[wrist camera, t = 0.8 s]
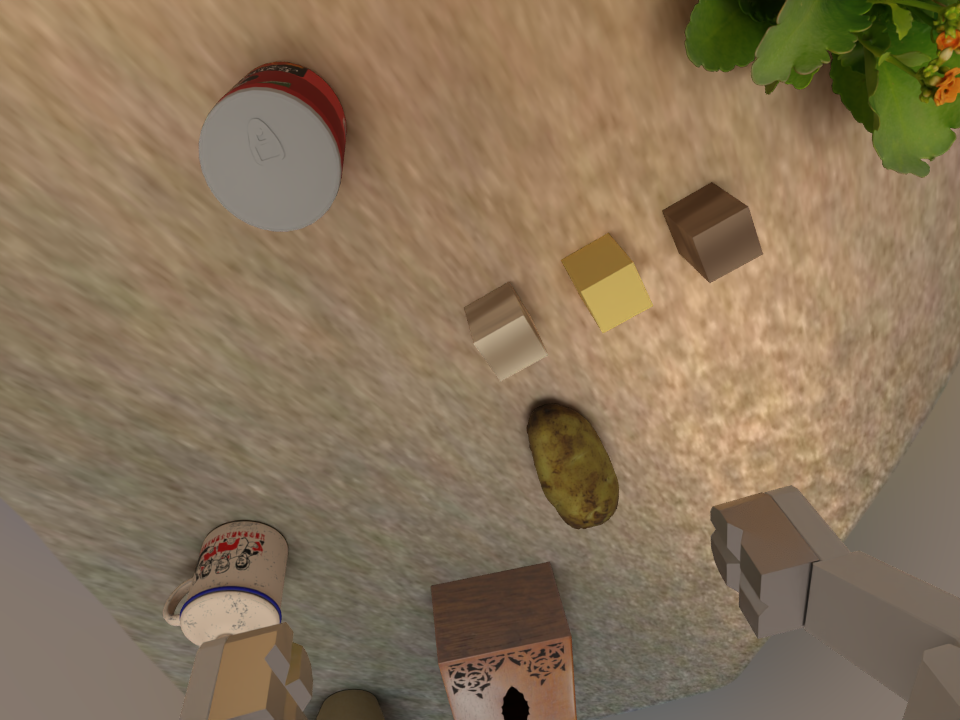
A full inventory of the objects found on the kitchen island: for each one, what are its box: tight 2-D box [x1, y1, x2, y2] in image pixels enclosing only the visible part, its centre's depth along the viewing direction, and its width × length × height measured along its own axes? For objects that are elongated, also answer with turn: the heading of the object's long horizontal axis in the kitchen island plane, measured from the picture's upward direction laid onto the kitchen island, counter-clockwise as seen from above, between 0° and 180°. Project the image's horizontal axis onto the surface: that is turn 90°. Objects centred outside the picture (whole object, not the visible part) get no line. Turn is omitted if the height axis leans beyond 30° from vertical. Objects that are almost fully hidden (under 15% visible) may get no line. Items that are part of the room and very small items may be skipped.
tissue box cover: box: [431, 562, 577, 720], centre depth 77 cm, size 26×14×10 cm, turn 7°
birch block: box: [464, 282, 548, 381], centre depth 52 cm, size 4×4×6 cm
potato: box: [527, 404, 619, 529], centre depth 61 cm, size 8×13×8 cm, turn 7°
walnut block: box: [662, 182, 763, 283], centre depth 50 cm, size 4×4×6 cm
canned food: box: [199, 62, 347, 231], centre depth 39 cm, size 8×8×11 cm
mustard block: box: [561, 233, 653, 333], centre depth 51 cm, size 4×4×6 cm
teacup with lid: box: [163, 521, 288, 646], centre depth 61 cm, size 12×9×12 cm
